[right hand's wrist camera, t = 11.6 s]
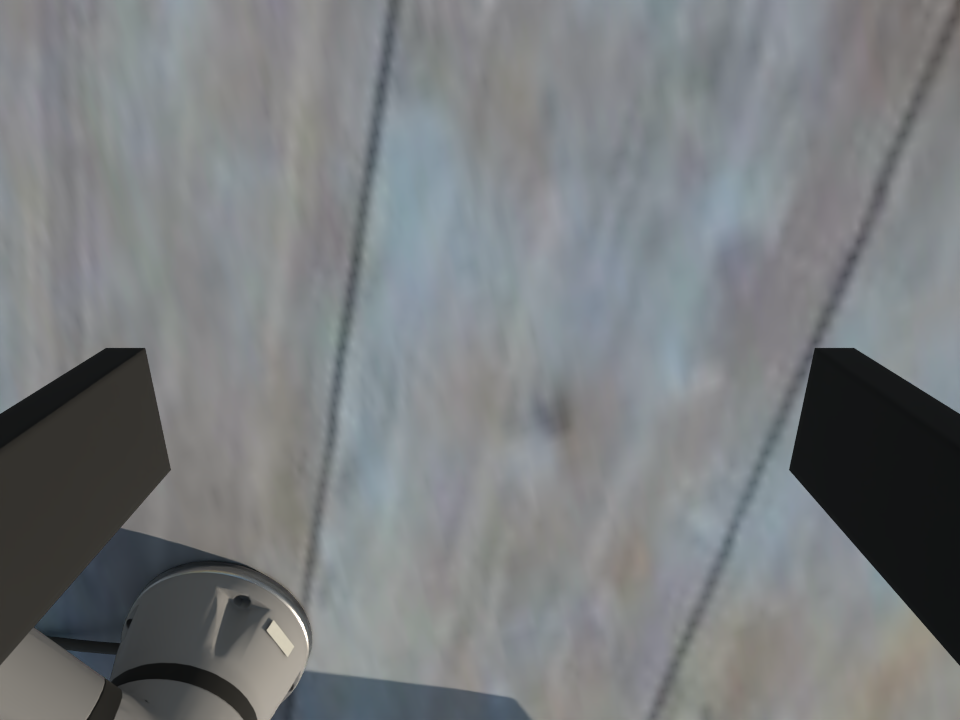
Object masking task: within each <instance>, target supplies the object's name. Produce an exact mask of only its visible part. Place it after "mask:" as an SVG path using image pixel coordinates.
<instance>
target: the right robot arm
mask: <svg viewBox="0 0 960 720" xmlns="http://www.w3.org/2000/svg"><path fill="white" fill-rule="evenodd" d="M170 470H171V468H170V464H169V459H168V454H167V449H166V445H165V440H164V435H163V430H162V426H161V421H160V416H159V411H158V407H157V402H156V397H155V392H154V388H153V383H152V378H151V373H150V369H149V364H148V359H147V355H146V350H145V348H105V349H104V350H102V351H101V352H99V353H97V354H96V355H94V356H93V357H91V358H89V359H88V360H86V361H85V362H83V363H81V364H80V365H78V366H77V367H75V368H73V369H72V370H70V371H68V372H67V373H65V374H64V375H62V376H60V377H59V378H57V379H56V380H54V381H52V382H51V383H49V384H48V385H46V386H44V387H43V388H41V389H40V390H38V391H36V392H35V393H33V394H32V395H30V396H28V397H27V398H25V399H24V400H22V401H20V402H19V403H17V404H16V405H14V406H12V407H11V408H9V409H7V410H6V411H4V412H3V413H1V414H0V720H270V719H271V718H272V716H273V715H274V713H275V711H276V710H277V708H278V706H279V705H280V703H282V702H283V701H284V700H285V699H286V698H287V697H288V696H289V695H290V694H291V692H292V691H293V690H294V689H295V687H296V686H297V684H298V682H299V680H300V678H301V676H302V674H303V672H304V670H305V668H306V665H307V662H308V658H309V655H310V651H311V646H312V633H311V627H310V624H309V621H308V618H307V616H306V614H305V612H304V610H303V608H302V607H301V606H300V604H299V603H298V601H297V600H296V599H295V598H294V597H293V596H292V595H291V594H290V593H289V592H288V591H287V590H286V589H285V588H284V587H283V586H281V585H280V584H279V583H277V582H276V581H274V580H273V579H271V578H269V577H267V576H266V575H264V574H262V573H259V572H257V571H255V570H252V569H250V568H247V567H243V566H240V565H235V564H231V563H224V562H195V563H189V564H184V565H181V566H177V567H175V568H172V569H170V570H168V571H166V572H164V573H162V574H160V575H159V576H157V577H156V578H155V579H153V580H152V581H151V582H150V583H149V584H148V585H147V586H146V587H145V588H144V590H143V591H142V592H141V594H140V595H139V597H138V598H137V600H136V601H135V602H134V604H133V606H132V608H131V609H130V612H129V614H128V616H127V618H126V620H125V623H124V626H123V630H122V635H121V643H110V642H97V641H86V640H76V639H68V638H59V637H48V636H45V635H44V634H43V633H41V632H40V631H38V630H37V629H36V628H34V626H35V625H36V624H37V623H38V622H39V620H40V619H41V618H42V617H43V616H44V615H45V614H46V612H47V611H48V610H49V609H50V608H51V607H52V606H53V604H54V603H55V602H56V601H57V600H58V599H59V598H60V596H61V595H62V594H63V593H64V592H65V591H66V590H67V588H68V587H69V586H70V585H71V584H72V583H73V581H74V580H75V579H76V578H77V577H78V576H79V575H80V573H81V572H82V571H83V570H84V569H85V568H86V567H87V565H88V564H89V563H90V562H91V561H92V560H93V559H94V557H95V556H96V555H97V554H98V553H99V552H100V551H101V549H102V548H103V547H104V546H105V545H106V544H107V542H108V541H109V540H110V539H111V538H112V537H113V536H114V534H115V533H116V532H117V531H118V530H119V529H120V528H121V526H122V525H123V524H124V523H125V522H126V521H127V520H128V518H129V517H130V516H131V515H132V514H133V513H134V511H135V510H136V509H137V508H138V507H139V506H140V505H141V503H142V502H143V501H144V500H145V499H146V498H147V497H148V495H149V494H150V493H151V492H152V491H153V490H154V489H155V487H156V486H157V485H158V484H159V483H160V482H161V481H162V479H163V478H164V477H165V476H166V475H167V474H168V472H169V471H170ZM789 470H790V471H791V472H792V474H793V475H794V476H795V477H796V478H797V479H798V481H799V482H800V483H801V484H802V485H803V486H804V487H805V489H806V490H807V491H808V492H809V493H810V494H811V495H812V497H813V498H814V499H815V500H816V501H817V502H818V503H819V505H820V506H821V507H822V508H823V509H824V510H825V512H826V513H827V514H828V515H829V516H830V517H831V518H832V520H833V521H834V522H835V523H836V524H837V525H838V526H839V528H840V529H841V530H842V531H843V532H844V533H845V534H846V536H847V537H848V538H849V539H850V540H851V541H852V542H853V544H854V545H855V546H856V547H857V548H858V549H859V551H860V552H861V553H862V554H863V555H864V556H865V557H866V559H867V560H868V561H869V562H870V563H871V564H872V565H873V567H874V568H875V569H876V570H877V571H878V572H879V573H880V575H881V576H882V577H883V578H884V579H885V580H886V581H887V583H888V584H889V585H890V586H891V587H892V588H893V590H894V591H895V592H896V593H897V594H898V595H899V596H900V598H901V599H902V600H903V601H904V602H905V603H906V604H907V606H908V607H909V608H910V609H911V610H912V611H913V612H914V614H915V615H916V616H917V617H918V618H919V619H920V620H921V622H922V623H923V624H924V625H925V626H926V627H927V629H928V630H929V631H930V632H931V633H932V634H933V635H934V637H935V638H936V639H937V640H938V641H939V642H940V643H941V645H942V646H943V647H944V648H945V649H946V650H947V651H948V653H949V654H950V655H951V656H952V657H953V658H954V659H955V661H956V662H957V663H958V664H959V665H960V414H959V413H957V412H956V411H954V410H953V409H951V408H949V407H948V406H946V405H944V404H943V403H941V402H940V401H938V400H936V399H935V398H933V397H932V396H930V395H928V394H927V393H925V392H924V391H922V390H920V389H919V388H917V387H916V386H914V385H912V384H911V383H909V382H908V381H906V380H904V379H903V378H901V377H900V376H898V375H896V374H895V373H893V372H892V371H890V370H888V369H887V368H885V367H883V366H882V365H880V364H879V363H877V362H875V361H874V360H872V359H871V358H869V357H867V356H866V355H864V354H863V353H861V352H859V351H858V350H856V349H855V348H815V350H814V354H813V359H812V364H811V369H810V373H809V378H808V383H807V388H806V392H805V397H804V402H803V407H802V411H801V416H800V421H799V426H798V430H797V435H796V440H795V445H794V449H793V454H792V459H791V464H790V468H789ZM66 650H72V651H81V652H91V653H103V654H115V655H116V658H115V662H114V666H113V670H112V674H111V677H110V681H108V680H107V679H105V678H104V677H103V676H101V675H100V674H98V673H97V672H96V671H94V670H93V669H91V668H90V667H89V666H87V665H86V664H84V663H83V662H82V661H80V660H79V659H77V658H76V657H75V656H73V655H72V654H70V653H69V652H68V651H66Z"/></svg>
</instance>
